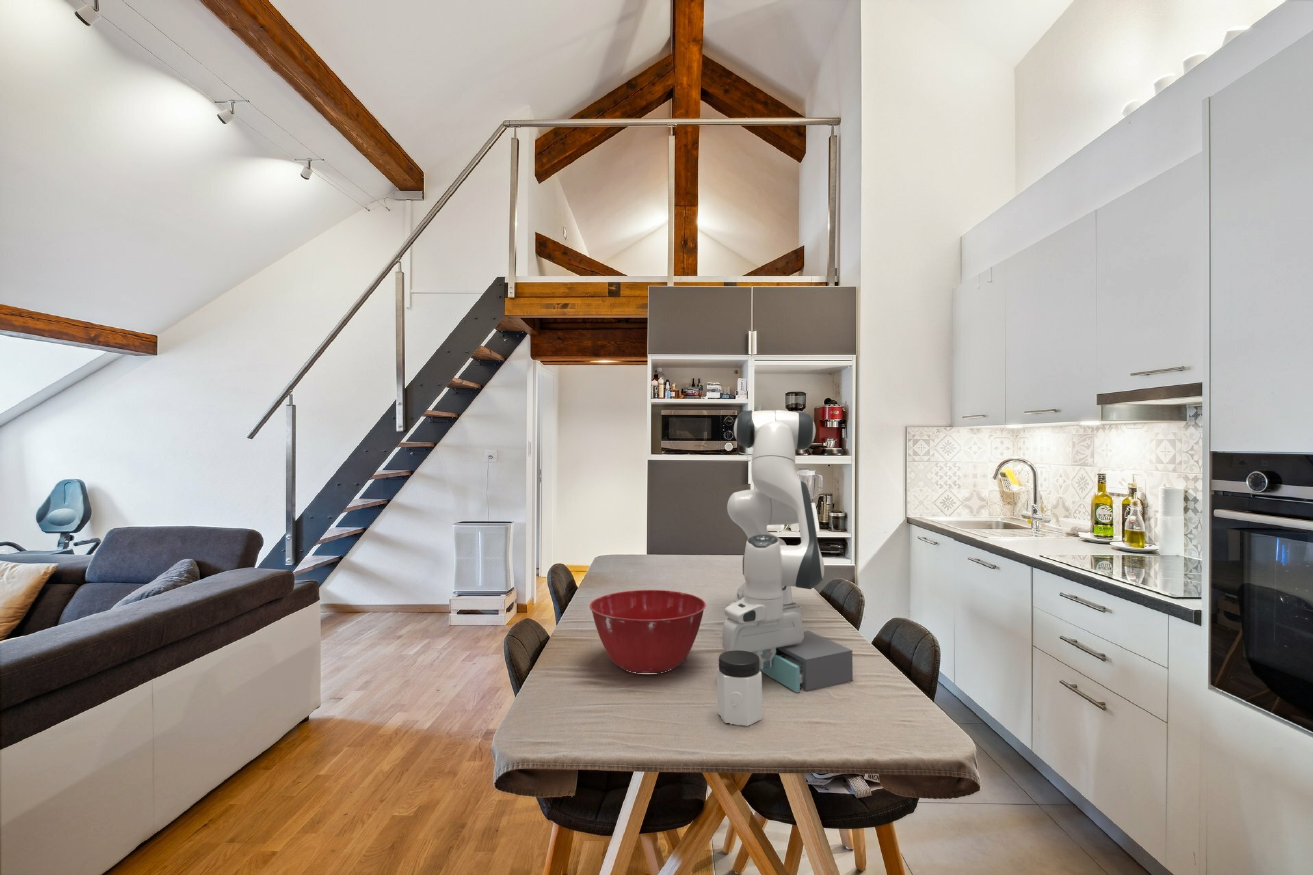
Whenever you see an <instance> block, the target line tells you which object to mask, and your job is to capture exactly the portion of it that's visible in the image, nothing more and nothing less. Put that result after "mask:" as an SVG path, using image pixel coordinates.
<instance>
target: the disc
mask: <svg viewBox="0 0 1313 875" xmlns="http://www.w3.org/2000/svg"><path fill="white" fill-rule="evenodd" d="M785 659H786V660H788V661H790V662H791V663H793V664H795V665H797V666H799V667H800V672H803V662H801V661H799V660H797V659H795V658H793V657H791V656H789V655H787V656H786V657H785Z"/></svg>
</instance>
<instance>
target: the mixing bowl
mask: <svg viewBox="0 0 1313 875" xmlns="http://www.w3.org/2000/svg"><path fill="white" fill-rule="evenodd" d="M706 604H707V603H706V602H705V600H704V599H702V598H701V597H699V596H697V595H693V594H690V593H687V592H682V591H681V592H680V591H676V590H674V591H672V590H664V589H663V590H662V589H640V590H639V589H638V590H637V589H636V590H626V591H625V590H624V591H619V592H612V593H608V594H606V595H603V596H599V597H597V598H595V599H594V600H592V601H591V602H590V603H589V609H590V610H591V612H592V617H593V620H594V624H595V627H596V630H597V633H598V637H599V639H600V641H601V643H602V645H603V647H604V649H605V651H606V653H607V655H608V656H609V658H610V660H611V661H612V662H613V663H614V664H615V665H616V666H618V667H619V668H621V669H622V668H623V669H625V670H628V671H631V672H636V673H661V672H665V671H668V670H670V669H672V670H674V669H675V668H676V667H678V666H679V665H680V664H682V663H683V662H684V661H685V660H686V658H687V657H688V655H689V654H690V651H691V650H692V648H693V646H694V642H695V641H696V638H697V635H698V633H699V630H700V626H701V624H702V623H701V622H702V620H703V616H704V615H703V614H704V610H705V609H706V606H707V605H706ZM673 668H674V669H673ZM623 669H622V670H623ZM625 670H624V671H625ZM668 672H669V671H668ZM665 673H666V672H665Z"/></svg>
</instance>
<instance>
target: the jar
mask: <svg viewBox="0 0 1313 875" xmlns="http://www.w3.org/2000/svg"><path fill="white" fill-rule="evenodd" d="M762 673H763V672H762V671H760V664H759V657H758V655H756V654H754V653H752V652H748V651H740V650H734V651H727V652H726V651H725V652H721V653H720V654H719V655H718V667H717V670H716V679H717V680H716V681H717V683H716V684H717V688H716V689H717V691H716V692H717V714H718V716H719V715H720V716H721V717H720V716H719V717H720V718H721V720H722V721H723V723H724V722H725V723H732V724H738V725H737V726H740V725H745V726H744V727H749V725H750V726H751V725H753V724H755V723H757V722H759V721H761V720H762V719H763V682H762V681H763V680H762V679H763V674H762ZM725 723H724V724H725ZM732 724H731V725H732Z"/></svg>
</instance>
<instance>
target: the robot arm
mask: <svg viewBox="0 0 1313 875" xmlns="http://www.w3.org/2000/svg"><path fill="white" fill-rule="evenodd" d="M816 432H817V430H816V424H815V422H814V418H813V416H811V414H810V413H806V412H802V411H798V412H796V411H791V410H790V411H789V410H783V409H775V410H767V409H766V410H765V409H764V410H754V411H753V410H744V411H741V412H740V413H739V414H738V415H737V417H736V418H735V422H734V425H733V434H734V438H735V439H736V443H737V444H738V445H739V446H740V447H743V448H746V449H751V448H752V454H751V455H752V456H751V480H752V484H753V485H754V487H755V489H745V490H739V491H736V492H733V493H732V494H731V495H730V496H729V498H728V500H727V506H726V510H727V514H728V516H729V518H730V519H731V521H732V522H734V524H736V525H737V526H739V528H741V530H742V531H743V532H744V534H745V535H746V537H747V539H746V544H745V550H744V554H743V556H742V575H743V578H744V580H745V582H744V583H743V584H742V585H740V586H739V587H738V589H737V591H736V600H733V601H732V602H729V605H728V606H726V607H725V609H724V615H725V617H727V618H726V619H725V621H724V623H723V626H722V639H721V640H722V648H723V651H725V652H727V651H734V650H740V651H748V652H753V653H754V654H756V655H758V657H759V664H760V669H764V668H769V667H772V659H773V657H774V655H775V653H776V648H777V647H782V646H788V645H793V644H798V643H801V642H802V641H803V639H804V631H805V630H804V624H803V619H802V614H803V613H802V607H801V605H799V604H797V603H796V602H794V599H793V591H792V590H793V589H792V587H795V588H799V589H806V590H812V589H814V588H815V587H816V586H818V585H819V584H820V583H822V581H823V579H824V575H825V564H824V559H823V556H822V552H821V549H820V547H819V541H818V534H817V529H816V523H815V522H816V521H815V517H814V516H815V515H814V510H813V504H812V499H811V494H810V490H809V487H808V484H806V482H804V481H802V480H801V479H800V478H799V476H798V474H797V469H796V451H802V450H807V449H809V448H810V447H811V446H812V444H813V442H814V439H815V438H816ZM795 524H798V530H799V536H800V543H799V544H797V545H790V544H789V545H787V544H786V542H785V540H784V539H782V538H780V537H778V536H777V535H774V534H773V533H770V532H769V531H768V526H770V525H771V526H773V525H774V526H775V525H777V526H778V525H779V526H780V525H782V526H784V525H786V526H787V525H795ZM763 650H767V654H766V656H765V658H762V657H761V655H762V654H763Z"/></svg>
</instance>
